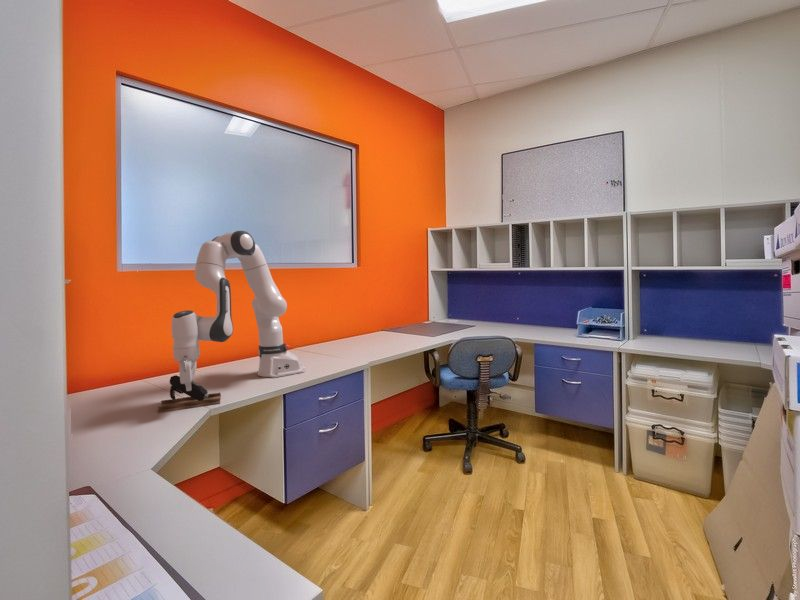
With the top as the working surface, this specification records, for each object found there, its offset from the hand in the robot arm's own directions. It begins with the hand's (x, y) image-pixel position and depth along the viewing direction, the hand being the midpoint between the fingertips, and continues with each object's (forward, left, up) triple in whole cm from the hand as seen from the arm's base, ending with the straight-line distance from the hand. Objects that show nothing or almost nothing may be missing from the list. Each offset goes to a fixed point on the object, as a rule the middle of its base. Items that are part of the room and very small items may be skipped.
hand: (189, 388), depth 152 cm
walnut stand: (0, 0, -6) cm, 6 cm away
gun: (0, 0, -4) cm, 5 cm away
